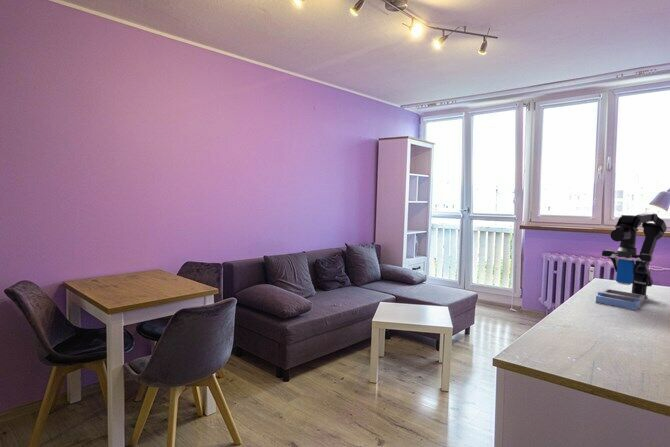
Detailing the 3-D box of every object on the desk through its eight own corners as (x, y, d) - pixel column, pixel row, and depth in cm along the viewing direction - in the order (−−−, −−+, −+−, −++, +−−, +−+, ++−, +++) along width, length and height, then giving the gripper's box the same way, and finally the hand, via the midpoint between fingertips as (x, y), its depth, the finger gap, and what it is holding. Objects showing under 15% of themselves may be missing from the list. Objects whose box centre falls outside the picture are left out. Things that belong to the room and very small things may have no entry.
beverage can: (626, 282, 187) (629, 257, 186) (635, 285, 181) (638, 260, 180) (612, 281, 188) (615, 257, 187) (621, 284, 181) (623, 259, 180)
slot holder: (605, 294, 194) (606, 286, 193) (644, 301, 183) (645, 293, 182) (595, 302, 179) (595, 293, 179) (636, 310, 168) (637, 301, 168)
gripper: (600, 239, 184) (597, 271, 185) (650, 244, 170) (647, 279, 171) (606, 238, 191) (603, 269, 193) (654, 242, 178) (651, 275, 179)
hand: (625, 273), depth 184 cm, fingers closed on beverage can, 6 cm apart
